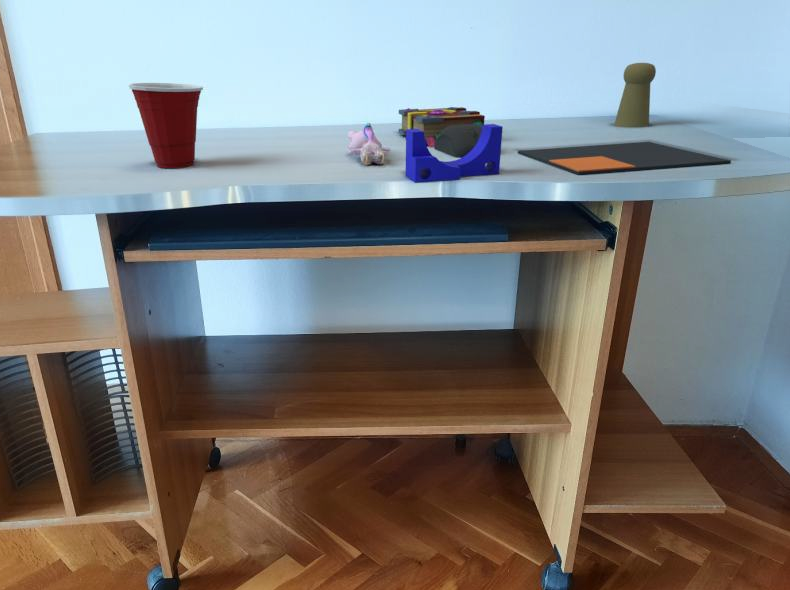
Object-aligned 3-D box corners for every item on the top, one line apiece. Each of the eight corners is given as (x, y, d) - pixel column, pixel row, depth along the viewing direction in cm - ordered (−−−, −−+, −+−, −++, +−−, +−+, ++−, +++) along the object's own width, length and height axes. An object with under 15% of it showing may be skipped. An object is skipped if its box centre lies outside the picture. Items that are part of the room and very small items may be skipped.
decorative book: (455, 131, 122) (456, 103, 120) (487, 143, 108) (489, 112, 106) (397, 134, 121) (398, 106, 119) (422, 147, 107) (423, 115, 104)
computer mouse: (457, 158, 96) (458, 130, 95) (431, 147, 106) (432, 122, 105) (496, 155, 98) (498, 127, 96) (467, 144, 107) (468, 119, 106)
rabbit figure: (396, 174, 93) (376, 142, 106) (398, 133, 90) (377, 105, 102) (354, 177, 93) (338, 145, 105) (354, 136, 89) (338, 107, 101)
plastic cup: (208, 169, 95) (198, 83, 90) (135, 173, 95) (120, 86, 90) (215, 157, 105) (206, 78, 100) (148, 160, 105) (136, 81, 99)
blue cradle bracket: (415, 182, 82) (416, 133, 79) (405, 175, 86) (406, 129, 83) (503, 175, 84) (507, 128, 81) (490, 169, 88) (493, 123, 85)
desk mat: (647, 144, 102) (648, 140, 101) (730, 163, 86) (731, 158, 85) (517, 153, 99) (518, 149, 98) (578, 175, 83) (578, 170, 82)
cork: (607, 128, 118) (616, 63, 113) (622, 125, 122) (631, 62, 117) (640, 131, 114) (651, 63, 109) (654, 127, 118) (665, 62, 113)
